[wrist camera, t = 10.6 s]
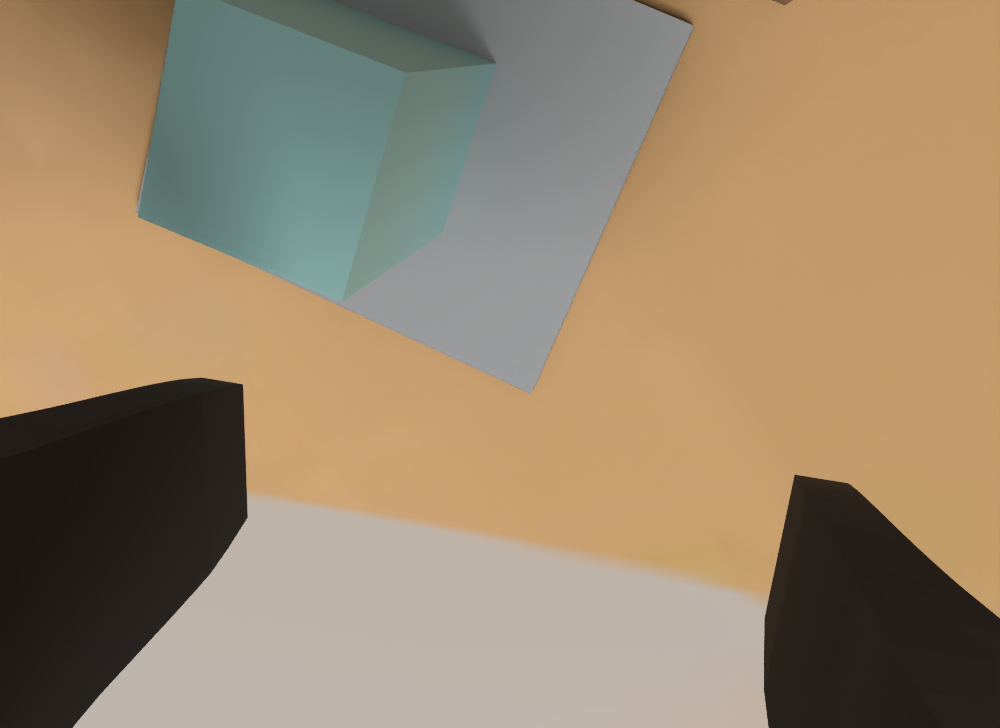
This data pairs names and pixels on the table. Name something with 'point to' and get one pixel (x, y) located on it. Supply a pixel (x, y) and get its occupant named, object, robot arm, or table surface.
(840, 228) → the table surface
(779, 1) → the walnut pen
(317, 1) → the teal block
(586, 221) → the slate mat
